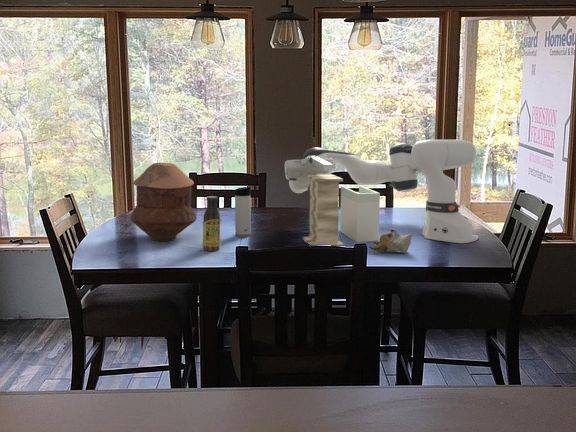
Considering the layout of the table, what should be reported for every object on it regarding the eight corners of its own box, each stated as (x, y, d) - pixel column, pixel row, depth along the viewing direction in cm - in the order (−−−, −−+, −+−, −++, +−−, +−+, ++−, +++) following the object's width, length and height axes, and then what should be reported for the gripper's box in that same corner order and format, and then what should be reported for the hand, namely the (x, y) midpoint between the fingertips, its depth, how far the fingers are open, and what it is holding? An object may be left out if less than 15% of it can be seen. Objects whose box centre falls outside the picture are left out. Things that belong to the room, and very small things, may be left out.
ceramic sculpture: (409, 232, 229) (367, 232, 234) (410, 256, 231) (368, 255, 235) (413, 227, 239) (373, 226, 244) (414, 250, 241) (374, 249, 245)
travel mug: (249, 237, 260) (249, 188, 256) (233, 236, 261) (232, 187, 257) (253, 234, 266) (253, 185, 262) (237, 233, 267) (237, 185, 263)
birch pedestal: (302, 239, 256) (303, 174, 251) (331, 238, 259) (332, 173, 254) (314, 249, 241) (315, 180, 236) (345, 247, 244) (346, 179, 239)
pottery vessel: (126, 234, 265) (123, 160, 260) (188, 229, 275) (186, 158, 269) (137, 248, 242) (133, 168, 236) (203, 242, 251) (202, 165, 245)
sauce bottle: (205, 252, 236) (204, 198, 232) (200, 248, 242) (199, 196, 238) (222, 250, 239) (222, 197, 235) (217, 247, 244) (216, 194, 240)
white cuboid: (340, 231, 272) (341, 186, 268) (360, 230, 274) (361, 185, 271) (356, 242, 253) (358, 193, 249) (378, 240, 255) (379, 193, 252)
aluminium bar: (307, 161, 260) (307, 155, 259) (314, 161, 261) (315, 155, 260) (324, 170, 239) (324, 164, 239) (332, 170, 240) (332, 164, 239)
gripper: (330, 178, 271) (339, 165, 258) (282, 179, 266) (290, 166, 253) (328, 164, 273) (337, 150, 260) (280, 165, 268) (288, 151, 255)
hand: (313, 158), depth 257 cm, fingers closed on aluminium bar, 3 cm apart
